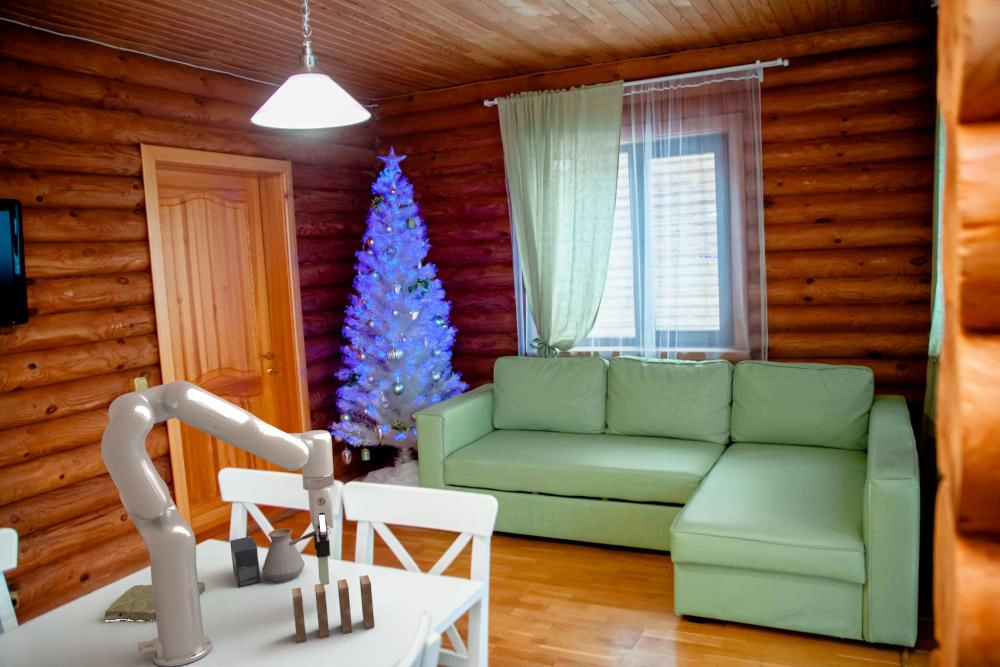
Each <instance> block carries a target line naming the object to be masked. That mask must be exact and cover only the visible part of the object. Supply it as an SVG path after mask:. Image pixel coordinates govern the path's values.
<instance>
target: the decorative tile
mask: <svg viewBox="0 0 1000 667" xmlns="http://www.w3.org/2000/svg"><path fill="white" fill-rule="evenodd" d="M205 585H206V584H205V582H204V581H198V586H199V596H200V595H201V596H202V595H203V594H204V593H205V591H206V586H205ZM201 596H200V597H201ZM116 619H127V620H128V619H130V620H143V621H146V622H148V621H150V622H156V613H155V604H154V596H153V589H152V584H138V585H136V584H135V585H133V586H132V587H129V589H127V590H126V591H124V593H122V594H121V595H120V596H119V597H118V598H117V599H116V600H115V601H114V602H112V603H111V604H110V605H109V607H108V608H107V609H106V610H105V611H104V618H103V622H104V621H105V620H116ZM151 620H152V621H151ZM153 620H154V621H153Z"/></svg>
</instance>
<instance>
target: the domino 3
mask: <svg viewBox="0 0 1000 667" xmlns="http://www.w3.org/2000/svg"><path fill="white" fill-rule="evenodd" d="M314 590H315V604H316V613H317V614H316V615H317V623H318V632H319V637H321V638H320V639H325V637H326V638H330V629H329V626H330V625H329V618H328V617H329V616H328V605H327V595H326V588H325V585H324V584H323V583H322V584H321V583H318V584H314Z"/></svg>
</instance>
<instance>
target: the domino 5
mask: <svg viewBox="0 0 1000 667" xmlns="http://www.w3.org/2000/svg"><path fill="white" fill-rule="evenodd" d="M359 589H360V599H361V613H362V622H363V621H364V622H363V624H364V627H366V628H365V630H370V629H369V628H371V629H374V628H373V627H375V618H374V616H375V615H374V606H373V604H374V602H373V592H372V582H371V579H370V577H369V575H368V574H367V575H361V576H359Z"/></svg>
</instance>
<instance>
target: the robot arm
mask: <svg viewBox="0 0 1000 667" xmlns="http://www.w3.org/2000/svg"><path fill="white" fill-rule="evenodd" d="M107 411H108V413H107V415H108V419H109V422H108V423H107V425H106V427H105V429H104V432H103V435H102V438H101V443H100V446H101V447H100V450H101V451H100V453H101V457H102V461H103V462H104V465H105V467H106V469H107V472H108V474H109V476H110V477H111V479H112V481H113V483H114V485H115V487H116V488H117V491H118V493H119V499H120V501H121V503H122V505H123V507H124V508H125V511H126V512H127V514H128V515H129V517H130V520H131V521H132V523H133V525H134V526H135V528H136V529H137V531H138V532H139V533H138V534H139V535H140V537H141V538H142V541H143V542H144V544H145V545H146V547H147V549H148V553H149V560H150V561H149V563H150V576H151V579H150V580H151V585H152V589H153V596H154V604H155V613H156V621H155V622H156V630H157V636H156V637H154V638H152V639H151V640H145V641H140V642H137V650H138V652H142V655H146V654H150V653H152V660H153V663H154V664H155V665H158V666H161V667H178V666H182V665H183V666H184V665H187V664H190V663H191V664H192V663H193V662H196V661H198V660H200V659H201V658H203V657H205V656H206V655H208V654H209V652H211V650H212V648H213V641H212V640H211V638H210V637H208V636H206V635H205V634H204V628H203V627H204V625H203V617H202V607H201V596H199V586H198V582H199V578H198V569H197V542H196V537H195V533H194V531H193V529H192V527H191V525H190V524H189V523H188V521H187V520H186V519H185V518H184V517H183V515H182V514H181V513H180V511H179V508H178V507H177V506H176V504H175V502H174V500H173V498H172V496H171V495H170V494H171V493H170V490H169V487H168V485H167V483H166V482H165V480H164V479H163V478H162V477H161V475H160V474H159V472H158V470H157V469H156V467H155V465H154V463H153V461H152V459H151V457H150V455H149V453H148V450H147V448H146V439H147V436H148V435H149V432H151V430H152V429H153V427H154V424H158V423H162V422H165V421H168V420H169V421H170V420H171V419H174V418H175V419H176V420H178V421H180V422H183V423H184V424H186V425H188V426H190V427H193V428H194V429H197V430H199V431H202V432H203V433H206V434H208V435H210V436H212V437H214V438H216V439H218V440H220V441H222V442H224V443H226V444H228V445H230V446H232V447H235V448H238V449H240V450H243V451H245V452H247V453H250V454H252V455H254V456H257V457H259V458H260V459H262V460H265V461H267V462H268V463H271V464H273V465H275V466H277V467H279V468H281V469H283V470H286V471H289V472H290V471H291V472H296V471H299V470H301V472H302V473H301V475H302V477H301V478H302V489H303V490H305V491H307V492H308V493H307V494H308V506H309V508H308V509H309V513H310V514H309V515H310V520H311V524H312V529H313V530H314V531H315V534H314V536H313V537H314V538H313V540H314V549H315V551H316V557H317V559H318V558H320V557H327V556H328V557H330V556H331V547H330V546H331V544H330V539H329V529H328V528H330V529H333V528H334V515H333V512H334V511H333V501H332V500H333V499H332V493H331V492H332V491H331V488H333V487H335V477H334V475H335V474H334V462H333V460H334V459H333V442H332V435H331V433H330V432H329V431H328V430H323V429H318V430H317V429H315V430H309V431H305V432H301V433H300V432H298V433H297V432H295V433H291V432H290V433H288V432H285V431H282V430H280V429H278V428H277V427H275V426H272V425H271V424H269V423H267V422H265V421H264V420H262V419H261V418H259V417H257V416H255V415H254V414H253V413H252V412H250V411H248V410H246V409H244V408H242V407H240V406H238V405H237V404H234V403H232V402H230V401H228V400H226V399H224V398H223V397H220V396H218V395H215V394H214V393H212V392H210V391H208V390H206V389H204V388H202V387H200V386H198V385H197V384H194V383H192V382H190V381H187V380H177V381H176V380H175V381H171V382H168V383H165V384H164V383H163V384H160V385H155V386H152V387H148V388H144V389H140V390H135V391H132V392H128V393H125V394H122V395H120V396H118V397H116V398H115V399H114V400H113V401H112V402H111V403H110V405H109V408H108V410H107Z"/></svg>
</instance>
